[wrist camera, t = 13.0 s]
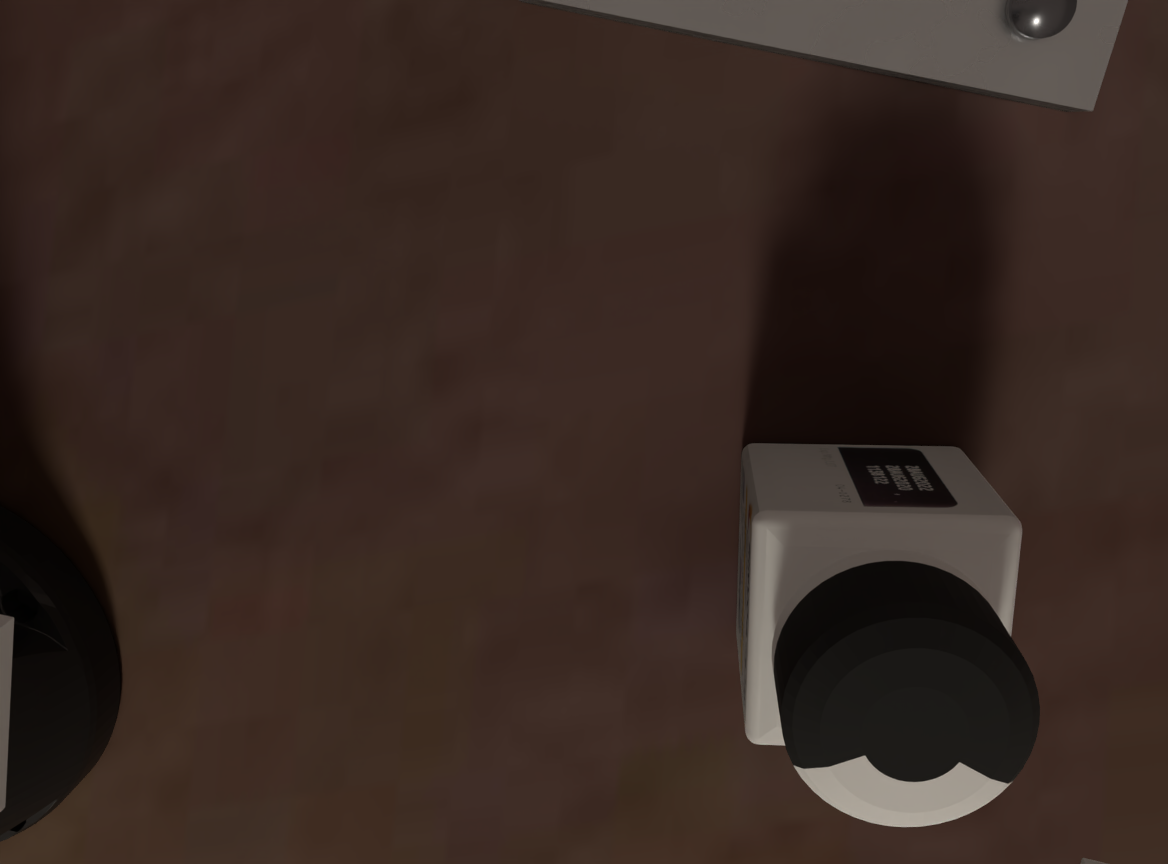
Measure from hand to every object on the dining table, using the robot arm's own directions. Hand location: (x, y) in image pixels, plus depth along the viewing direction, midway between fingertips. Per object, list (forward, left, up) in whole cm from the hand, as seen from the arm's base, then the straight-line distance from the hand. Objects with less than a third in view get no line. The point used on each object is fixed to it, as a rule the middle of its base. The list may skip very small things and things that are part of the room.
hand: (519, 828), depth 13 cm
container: (+9, -5, -27) cm, 29 cm away
